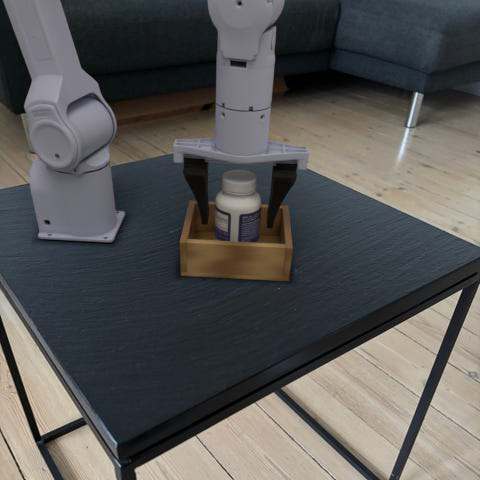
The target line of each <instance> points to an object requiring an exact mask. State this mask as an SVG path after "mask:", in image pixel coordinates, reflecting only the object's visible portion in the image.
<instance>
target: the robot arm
mask: <svg viewBox="0 0 480 480" xmlns="http://www.w3.org/2000/svg"><path fill="white" fill-rule="evenodd" d="M206 1H207V10H208V15H209V18H210V19H211V22H212V24H213V26H214V27H215V28H216V30H217V47H216V50H217V51H216V66H215V67H216V70H215V71H216V73H215V118H214V119H215V120H214V121H215V122H214V123H215V124H214V137H204V138H203V137H202V138H188V139H187V138H186V139H185V138H179V139H178V138H175V139H174V142H173V145H172V149H173V151H172V152H173V163H176V164H183V169H182V174H183V177H184V180H185V181H186V183H187V184H188V186H189V188H190V191H191V193H192V194H193V197H194V199H195V201H196V202H197V205H198V208H199V212H200V216H201V222H202V225H208V219H209V202H210V201H209V163H214V164H216V163H218V164H234V165H235V164H236V165H250V166H251V165H252V166H269V167H272V169H271V182H270V183H271V184H270V194H269V200H268V204H267V205H268V211H267V228H273V225H274V221H275V218H276V215H277V213H278V210H279V208H280V206H281V205H283V202H284V200H285V198H286V197H287V195H288V193H289V192H290V191H291V189H292V188H293V186H294V185H295V183H296V181H297V178H298V171H299V170H300V171H307V170H308V163H309V156H310V151H309V147H308V146H305V145H294V144H289V143H284V142H279V141H272V140H269V137H270V124H271V111H272V100H273V89H274V76H275V64H276V55H275V49H276V48H275V47H276V42H277V41H276V40H277V39H276V38H277V37H276V35H277V33H276V32H277V26H276V25H274V24H275V23H276V22H277V20H278V19H279V17H280V15H281V14H282V12H283V10H284V6H285V3H286V2H285V1H286V0H206ZM2 2H3V5H4V8H5V11H6V12H7V16H8V18H9V21H10V23H11V27H12V29H13V32H14V36H15V37H16V40H17V43H18V46H19V48H20V51H21V54H22V56H23V59H24V62H25V64H26V65H25V66H26V67H27V70H28V73H29V75H30V78H31V83H30V86H29V89H28V92H27V95H26V98H25V101H24V104H23V108H24V112H25V114H26V116H27V117H26V118H27V121H28V139H29V142H30V143H29V144H30V146H31V148H32V150H33V152H34V154H35V155H36V157H37V158H36V159H34V161H33V162H32V164H31V165H30V166H31V167H30V171H29V188H30V194H31V195H30V196H31V200H32V204H33V209H34V213H35V218H36V222H37V226H38V231H39V232H38V234H37V238H38V239H39V240H53V241H54V240H55V241H71V242H73V241H74V242H88V243H89V242H91V243H113V242H114V241H115V239H116V237H117V235H118V232H119V230H120V227H121V226H122V223H123V220H124V218H125V217H126V212H125V211H124V210H116V202H115V192H114V184H113V174H112V165H111V158H110V157H111V156H110V153H111V150H110V143H112V142H113V140H114V139H115V137H116V135H117V130H118V125H117V124H118V123H117V119H116V116H115V113H114V112H113V110H112V107H110V105H109V103H108V102H107V101H106V100H105V98H104V97H103V95H102V92H101V89H100V86H99V83H98V82H97V81H96V80H95V78H93V76H91V75H89V73H87V72H86V71H85V70H84V69H83V68H82V66H81V63H80V59H79V55H78V53H77V50H76V46H75V44H74V40H73V37H72V34H71V30H70V28H69V23H68V21H67V17H66V13H65V11H64V8H63V3H62V2H61V0H2ZM297 170H298V171H297Z"/></svg>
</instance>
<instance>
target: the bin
mask: <svg viewBox="0 0 480 480" xmlns="http://www.w3.org/2000/svg"><path fill="white" fill-rule="evenodd" d="M268 205H269V204H264V203H263V204H262V203H261V217H260V230H259V243H254V242H235V241H216V240H215V201H209V219H208V225H202V222H201V216H200V212H199V208H198V205H197V202H196V200H194V199H193V200H192V199H189V200H188V204H187V209H186V213H185V218H184V222H183V227H182V231H181V233H180V234H181V235H180V238H179V262H180V264H179V265H180V276H181V277H196V278H215V279H216V278H217V279H236V280H237V279H238V280H255V281H273V282H290V275H291V266H292V260H293V250H294V245H293V236H292V228H291V227H292V226H291V217H290V209H289V207H290V206H289V205H283V204H281V206H280V208H279V210H278V213H277V215H276V218H275V221H274V225H273V228H267V211H268Z"/></svg>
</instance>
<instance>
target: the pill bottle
mask: <svg viewBox="0 0 480 480" xmlns="http://www.w3.org/2000/svg"><path fill="white" fill-rule="evenodd" d="M257 188H258V176H257V175H256V173H254V172H252V171H251V170H250V171H249V170H247V169H231V170H227V171H225V172H223V173H222V175H221V190H220V191H218V193H217V194H216V196H215V199H214V202H215V240H216V241H235V242H254V243H259V230H260V217H261V204H262V197H261V195H260V193H258V192H257Z"/></svg>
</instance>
